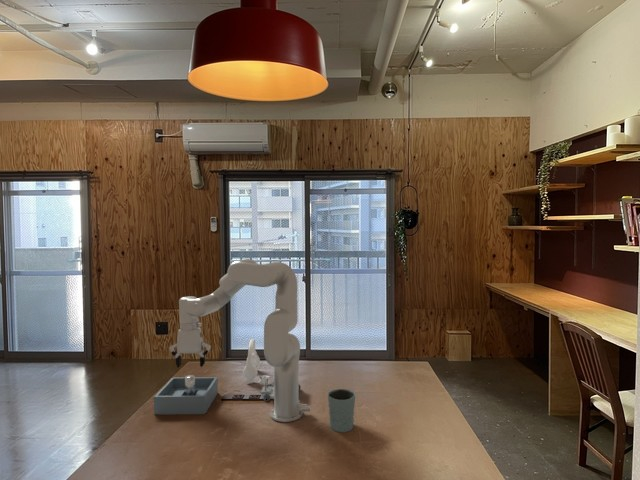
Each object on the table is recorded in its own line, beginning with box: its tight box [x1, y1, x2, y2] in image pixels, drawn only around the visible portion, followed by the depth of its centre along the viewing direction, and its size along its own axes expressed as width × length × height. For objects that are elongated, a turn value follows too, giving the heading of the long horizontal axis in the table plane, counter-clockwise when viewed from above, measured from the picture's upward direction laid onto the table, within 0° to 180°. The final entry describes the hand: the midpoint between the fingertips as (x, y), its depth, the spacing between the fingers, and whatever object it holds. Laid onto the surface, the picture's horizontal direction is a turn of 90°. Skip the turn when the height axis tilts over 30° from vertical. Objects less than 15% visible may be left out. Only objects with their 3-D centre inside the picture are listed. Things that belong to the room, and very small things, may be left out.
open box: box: [153, 376, 219, 415], centre depth 168 cm, size 20×20×7 cm
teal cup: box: [327, 388, 356, 433], centre depth 148 cm, size 10×10×12 cm
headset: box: [242, 338, 261, 385], centre depth 197 cm, size 20×7×18 cm, turn 4°
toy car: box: [257, 374, 302, 402], centre depth 175 cm, size 18×10×12 cm
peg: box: [185, 374, 196, 396], centre depth 171 cm, size 4×4×10 cm
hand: (190, 366), depth 170 cm, fingers open, 9 cm apart
